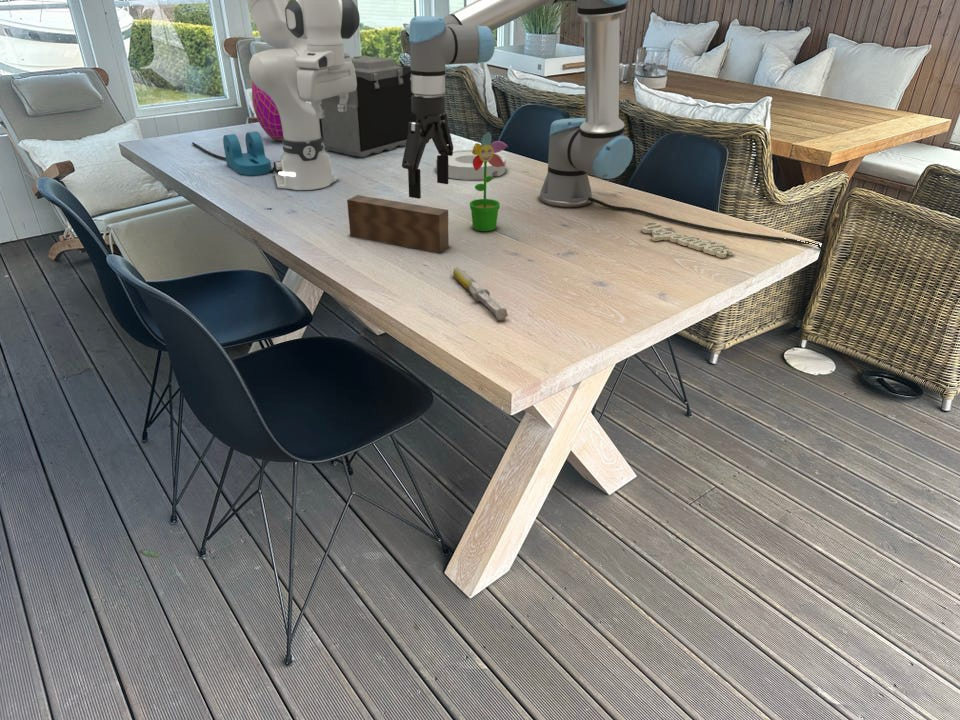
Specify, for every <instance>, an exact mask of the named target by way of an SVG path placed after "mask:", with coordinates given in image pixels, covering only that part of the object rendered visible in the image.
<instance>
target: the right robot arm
mask: <svg viewBox="0 0 960 720" xmlns="http://www.w3.org/2000/svg"><path fill="white" fill-rule="evenodd" d="M561 2H576V7H577V8H576V9H577V15H578V16H579V17H580V19H582V21H583V39H584V40H583V41H584V42H583V47H584V93H585V94H584V100H585V101H584V102H585V103H584V105H585V106H584V107H585V108H584V109H585V117H575V118H574V117H573V118H562V119H556V120H554V121H553V122H552V123H551V124H550V129H549V134H548V137H549V138H548V156H547V158H548V159H547V173H546V176H545V178H544V181H543V184H542V187H541V189H540V192H539V200H540V202H542V203H543V204H546V205H549V206H553V207H558V208H559V207H560V208H580V207H584V206H588V205H589V204H591V203H596V204H598V205H600V206H602V207H605V208H608V209H612V210H617V211H626V212H633V213H639V214H642V215H646V216H649V217H653V218H656V219H660V220H663V221H667V222H671V223H675V224H678V225H681V226H682V225H683V226H687V227H690V228H691V227H692V228H696V229H701V230H704V231H705V230H706V231H710V232H715V233H716V232H717V233H722V234H728V235H735V236H741V237H747V238H756V239H762V240H769V241H778V242H779V241H780V242H787V243H793V244H799V245H810V246H815V245H818V246H815V247H817V248H818V249H819V250H820V251H821V252H822V253H827V250H826V248H825V247H824V246H823V245H822V244H821V247H820V245H819V244H820V243H819V242H817V241H813V240H811V241H812V242H815V243H818V244H815V243H812V242H809V241H810V240H804V241H805V243H804V242H801V241H803V240H802V239H799V240H800V241H797V240H798V239H796V240H795V238H788V237H781V236H772V235H765V234H757V233H749V232H742V231H737V230H731V229H730V230H729V229H723V228H718V227H712V226H707V225H702V224H698V223H692V222H688V221H683V220H679V219H676V218H671V217H667V216H665V215H660V214H657V213H653V212H651V211H650V212H649V211H646V210H643V209H639V208H633V207H626V206H617V205H612V204H608V203H606V202H604V201H602V200H599V199H596V198H594V197H593V193H592V188H591V184H590V179H589V175H593V176H595V177H597V178H599V179H600V178H602V179H605V180H612V179H615V178H617V177H619V176H621V175H622V174H623V173H625V171H626V169H627V168H628V167H629V166H630V164H631V161H632V159H633V155H634V144H633V142H632V140H631V139H630V138H629V137H628V136H626V135H625V122H624V121H623V120H622V119H621V118H620V117H619V115H620V114H619V113H620V36H621V35H620V32H621V31H620V29H621V28H620V25H621V23H620V22H621V20H620V19H621V16H623V14H624V13H625V12H626V11H627V3H628V2H629V0H475V1H473V2H472V3H469V4H467V5H465V6H464V7H462V8H460V9H457V10H455V11H454V12H452V13H449V14H448V15H445V16H443V17H442V16H431V15H429V16H428V15H418V16H417V15H416V16H414V17H411V19H410V21H409V32H408V33H409V35H408V42H409V60H410V61H409V62H410V63H409V65H410V68H411V78H410V81H411V92H412V93H413V94H414V95H412V97H411V111H412V113H413V114H415V115H416V116H417V120H416V122H409V124H408V136H407V141H406V146H404V152H403V157H402V161H401V162H402V163H401V168H403V169H406V170H407V181H408V198H412V199H419V200H420V199H422V191H421V190H422V186H421V185H422V184H421V168H419V167H420V163H421V160H422V158H423V154H424V151H425V148H426V145H427V144H429V142H430V141H431V140H432V142H433V145H434V146H435V148H436V150H437V152H438V154H437V155H436V157H437V170H436V183H437V184H442V185H448V184H449V177H448V156H452V155H453V151H454V144H453V139H452V136H451V131H450V128H449V124H448V114H447V113H445V112H446V97H445V95H444V94H445V93H446V65H448V66H449V65H467V64H468V65H469V64H475V65H479V64H481V63H482V64H483V63H488V62H489V61H490V60H491V59H492V58H493V56H494V53H495V50H496V49H495V48H496V47H495V44H496V40H495V36H494V33H493V31H495V30H497V29H499V28H501V27H504V25H505V26H506V25H507V24H509V23H511V22H512V21H514V20H515V21H516V20H517V19H518V18H520V17H522V16H524V15H526V14H528V13H530V12H532V11H534V10H535V9H538V8H540V7H541V6H542V7H545V8H549V7H551V6H553V5H555V4H558V3H561ZM439 154H441V155H439ZM784 238H786V239H784ZM806 242H808V243H806ZM809 243H812V244H815V245H812V244H809Z"/></svg>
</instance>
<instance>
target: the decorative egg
mask: <svg viewBox="0 0 960 720" xmlns="http://www.w3.org/2000/svg"><path fill="white" fill-rule="evenodd" d="M298 95H299V91H298ZM299 97H300V96H299ZM300 99H301V98H300ZM301 100H302V99H301ZM251 101H252V107H253V110H254V114H255V116H256V118H257V121H258V123H259V125H260V127H261V128H262V130H263V131H264V133H266V135H267V136H268V137H270V138H271V139H273V140H275V141H282V142H283V138H284V137H283V130H282V124H281V119H280V115H279V111H278V109H277V107H276V105H275V103H274V102H273V100H272V99H271V98H270V97H269V96H268V95H267V94H266V93H265V92H264V91H262V90H261V89H259V88H258V87H257V86H256V85H255V84H254V82H253V81H252V80H251ZM305 102H306V101H305Z"/></svg>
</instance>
